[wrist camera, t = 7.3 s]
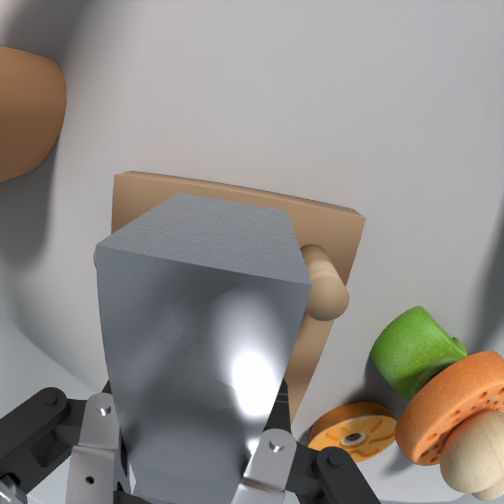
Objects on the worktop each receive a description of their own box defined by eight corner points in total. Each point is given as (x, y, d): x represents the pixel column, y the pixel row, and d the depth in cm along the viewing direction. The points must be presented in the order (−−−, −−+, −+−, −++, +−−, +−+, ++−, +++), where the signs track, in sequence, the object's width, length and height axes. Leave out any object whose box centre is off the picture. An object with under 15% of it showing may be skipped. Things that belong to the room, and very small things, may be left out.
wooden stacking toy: (274, 434, 22) (274, 565, 10) (421, 279, 16) (543, 422, 5) (401, 461, 24) (425, 544, 12) (512, 356, 19) (572, 436, 7)
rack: (131, 171, 15) (66, 188, 9) (353, 209, 15) (401, 246, 9) (135, 401, 21) (111, 456, 15) (278, 428, 21) (280, 489, 15)
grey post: (154, 189, 11) (56, 236, 5) (313, 216, 11) (363, 293, 5) (156, 451, 17) (137, 518, 11) (239, 467, 17) (233, 537, 11)
